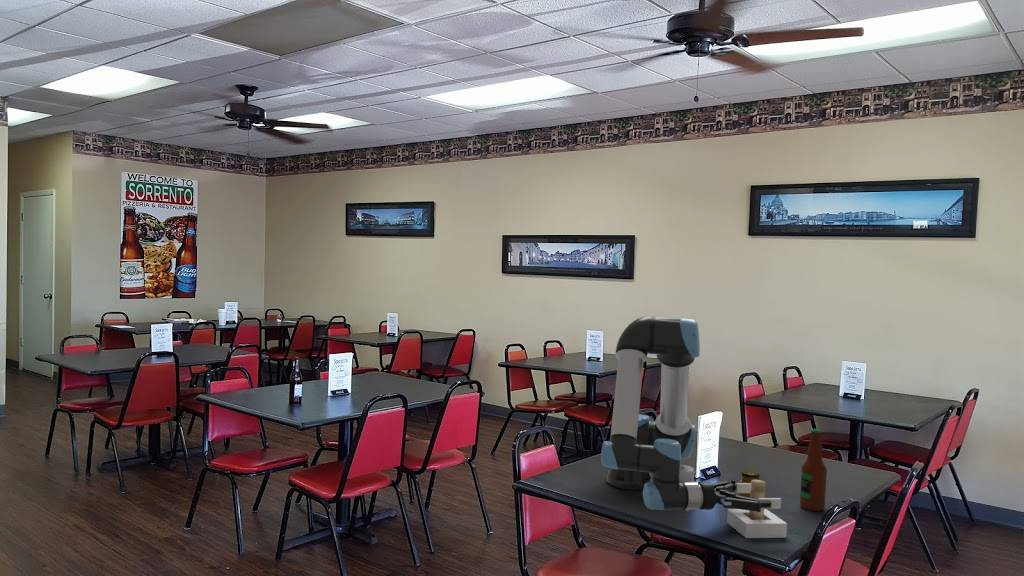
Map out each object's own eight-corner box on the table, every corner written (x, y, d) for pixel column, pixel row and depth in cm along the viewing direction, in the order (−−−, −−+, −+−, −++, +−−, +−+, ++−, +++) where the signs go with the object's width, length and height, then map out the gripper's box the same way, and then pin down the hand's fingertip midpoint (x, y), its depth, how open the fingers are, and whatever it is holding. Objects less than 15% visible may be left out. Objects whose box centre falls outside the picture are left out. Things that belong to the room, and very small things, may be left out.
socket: (727, 522, 213) (727, 509, 213) (765, 522, 215) (766, 508, 215) (745, 538, 201) (746, 523, 201) (786, 537, 203) (787, 523, 203)
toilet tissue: (678, 485, 248) (679, 460, 248) (697, 497, 236) (699, 471, 235) (654, 486, 246) (655, 461, 246) (672, 498, 233) (673, 472, 233)
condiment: (743, 506, 229) (745, 468, 229) (769, 513, 223) (771, 474, 223) (732, 511, 224) (734, 472, 223) (759, 518, 218) (761, 479, 218)
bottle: (803, 502, 235) (808, 426, 234) (827, 508, 230) (831, 430, 230) (796, 507, 229) (800, 429, 229) (820, 513, 225) (824, 433, 224)
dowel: (745, 527, 210) (748, 479, 209) (758, 527, 210) (761, 479, 210) (752, 532, 206) (755, 483, 205) (765, 532, 206) (768, 483, 206)
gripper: (681, 494, 218) (747, 494, 221) (716, 524, 193) (790, 523, 196) (682, 470, 217) (748, 470, 220) (717, 496, 193) (791, 496, 196)
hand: (768, 495), depth 208 cm, fingers open, 13 cm apart
